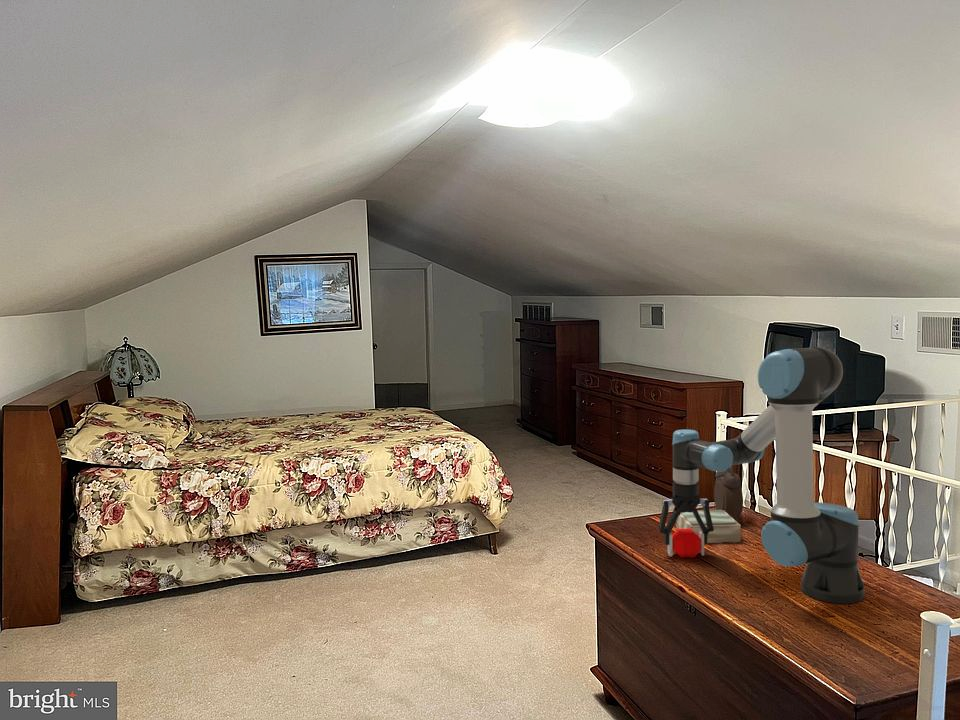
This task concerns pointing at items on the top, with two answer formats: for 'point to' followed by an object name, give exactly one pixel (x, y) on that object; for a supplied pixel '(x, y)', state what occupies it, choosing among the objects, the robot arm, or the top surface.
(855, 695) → the top surface
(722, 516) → the stand
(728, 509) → the brown backpack
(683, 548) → the ball
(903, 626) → the top surface
